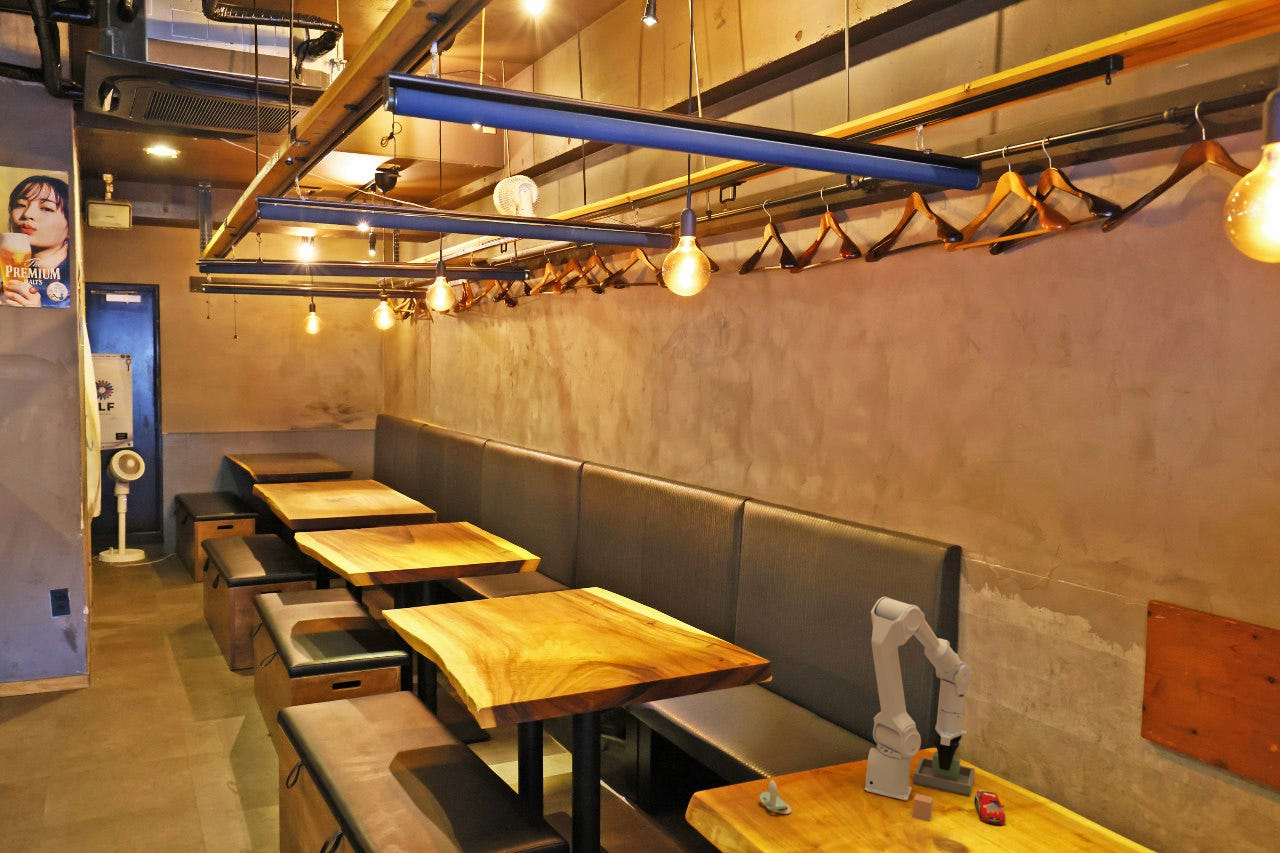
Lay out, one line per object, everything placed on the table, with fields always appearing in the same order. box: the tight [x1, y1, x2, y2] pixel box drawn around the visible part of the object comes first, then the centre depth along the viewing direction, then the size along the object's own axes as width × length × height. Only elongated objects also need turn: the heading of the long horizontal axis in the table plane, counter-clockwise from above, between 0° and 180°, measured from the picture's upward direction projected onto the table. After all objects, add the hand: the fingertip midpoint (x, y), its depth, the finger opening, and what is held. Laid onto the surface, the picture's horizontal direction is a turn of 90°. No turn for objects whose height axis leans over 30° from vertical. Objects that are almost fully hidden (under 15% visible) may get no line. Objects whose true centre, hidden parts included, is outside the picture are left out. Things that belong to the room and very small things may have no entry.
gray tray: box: [912, 756, 976, 798], centre depth 226 cm, size 13×13×2 cm
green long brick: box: [932, 751, 962, 778], centre depth 226 cm, size 6×4×4 cm, turn 66°
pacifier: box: [759, 779, 792, 815], centre depth 203 cm, size 7×6×6 cm
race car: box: [973, 789, 1007, 825], centre depth 210 cm, size 13×5×4 cm, turn 167°
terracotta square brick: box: [912, 793, 934, 822], centre depth 205 cm, size 4×4×4 cm
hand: (945, 766), depth 226 cm, fingers closed on green long brick, 3 cm apart
